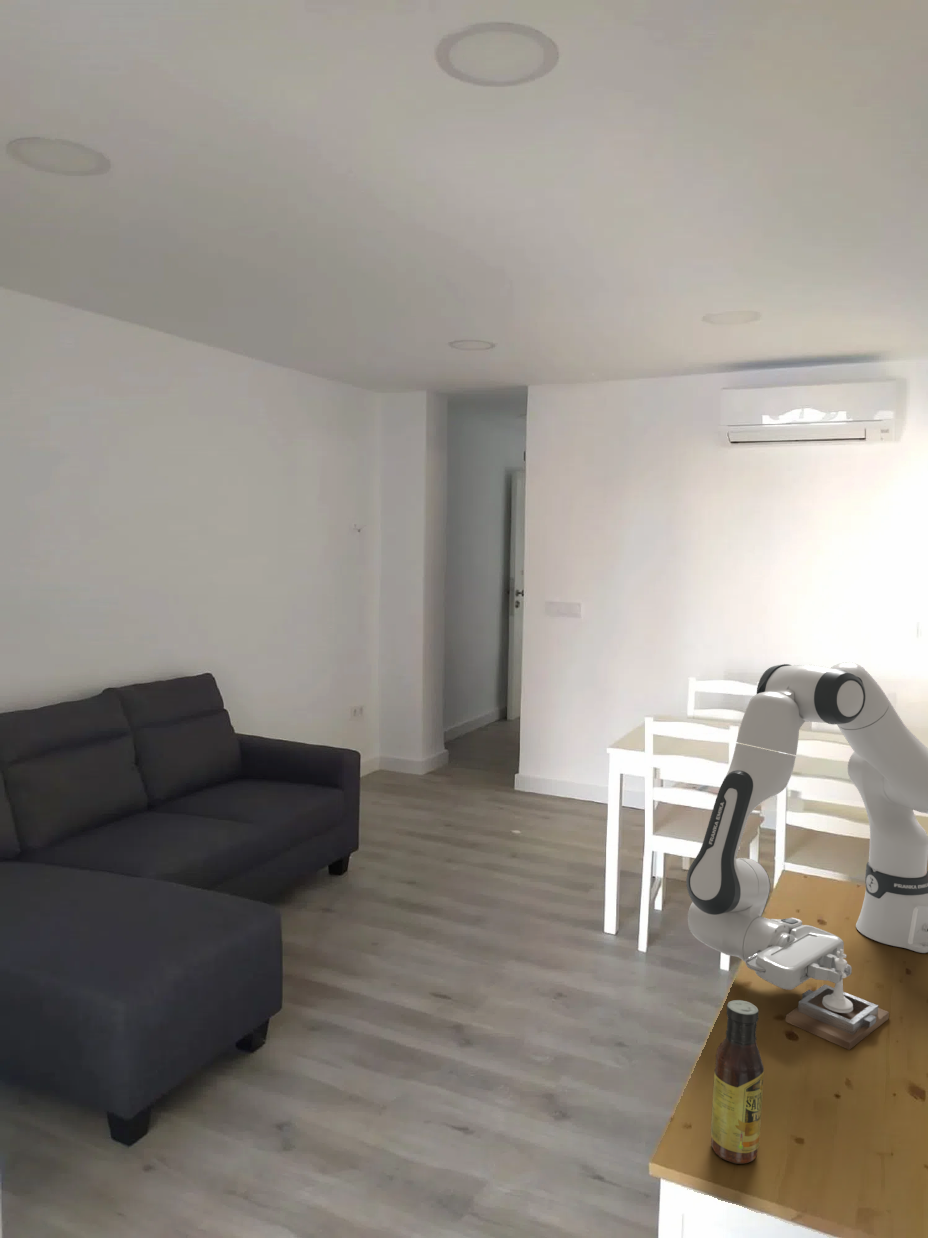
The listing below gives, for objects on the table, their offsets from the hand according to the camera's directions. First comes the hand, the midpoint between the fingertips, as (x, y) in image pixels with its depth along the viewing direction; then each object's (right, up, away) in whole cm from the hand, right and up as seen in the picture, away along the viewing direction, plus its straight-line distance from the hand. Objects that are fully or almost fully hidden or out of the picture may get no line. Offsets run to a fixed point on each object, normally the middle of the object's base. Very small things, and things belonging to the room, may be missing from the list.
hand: (845, 975), depth 152 cm
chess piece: (-1, -6, +1) cm, 6 cm away
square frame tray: (-1, -7, +1) cm, 7 cm away
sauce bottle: (-29, -11, -33) cm, 45 cm away
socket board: (-1, -8, +1) cm, 8 cm away
